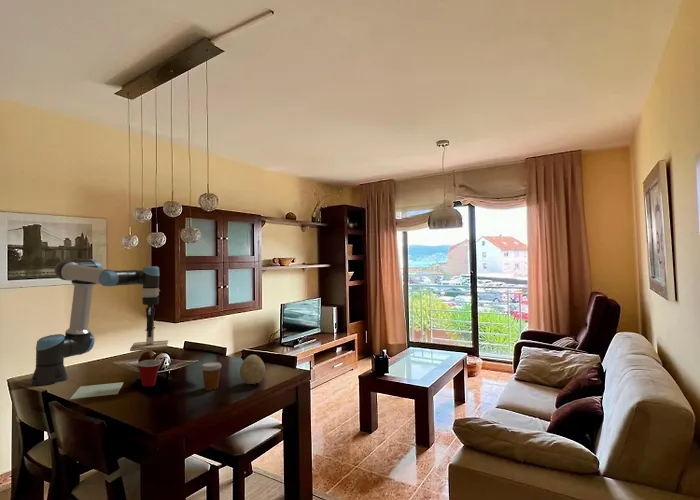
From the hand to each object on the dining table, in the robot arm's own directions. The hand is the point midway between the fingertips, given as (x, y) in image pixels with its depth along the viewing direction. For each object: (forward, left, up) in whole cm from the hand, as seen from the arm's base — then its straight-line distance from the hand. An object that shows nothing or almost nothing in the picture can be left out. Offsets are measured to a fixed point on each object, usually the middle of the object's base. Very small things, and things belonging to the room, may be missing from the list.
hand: (150, 342), depth 198 cm
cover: (0, 0, -2) cm, 2 cm away
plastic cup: (0, 0, -22) cm, 22 cm away
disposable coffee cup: (+16, +29, -22) cm, 40 cm away
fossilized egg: (+17, +49, -22) cm, 56 cm away
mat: (0, -22, -22) cm, 31 cm away
